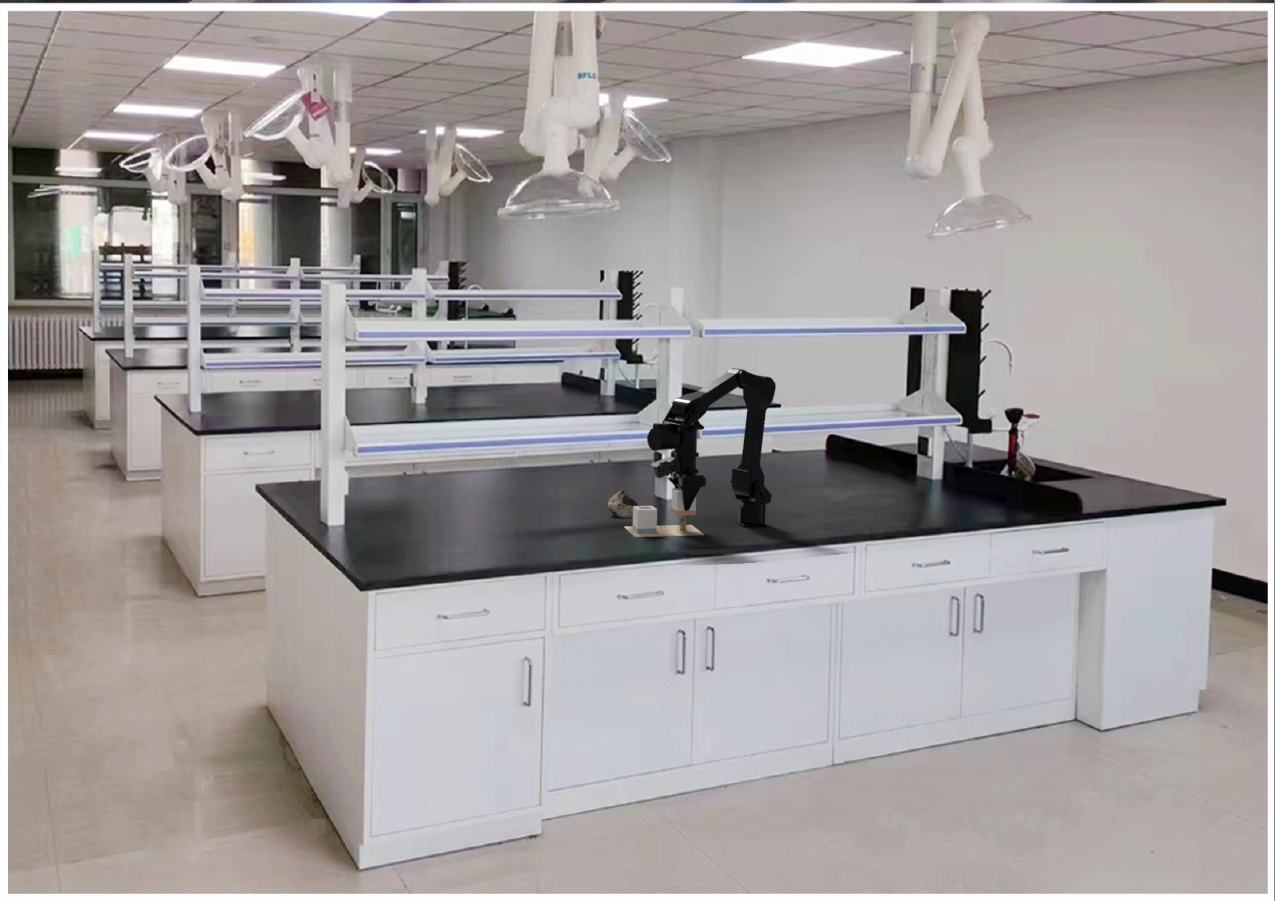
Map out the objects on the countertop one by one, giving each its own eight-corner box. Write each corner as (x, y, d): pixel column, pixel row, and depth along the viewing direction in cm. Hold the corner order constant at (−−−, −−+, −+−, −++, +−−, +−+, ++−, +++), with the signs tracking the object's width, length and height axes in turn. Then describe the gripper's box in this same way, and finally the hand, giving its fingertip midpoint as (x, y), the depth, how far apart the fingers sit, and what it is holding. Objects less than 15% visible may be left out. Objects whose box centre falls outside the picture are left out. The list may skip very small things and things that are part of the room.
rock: (643, 509, 348) (614, 487, 346) (654, 503, 341) (625, 480, 340) (627, 534, 344) (598, 512, 342) (638, 528, 337) (609, 505, 336)
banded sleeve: (690, 510, 326) (690, 487, 325) (695, 514, 322) (696, 491, 321) (671, 511, 325) (671, 488, 324) (676, 515, 320) (677, 492, 320)
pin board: (691, 529, 331) (691, 513, 330) (704, 539, 319) (704, 523, 319) (623, 531, 327) (624, 515, 326) (634, 541, 315) (634, 525, 315)
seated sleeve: (651, 528, 325) (652, 505, 324) (656, 533, 320) (657, 509, 319) (632, 529, 324) (633, 506, 323) (637, 533, 319) (637, 510, 318)
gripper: (645, 442, 328) (644, 502, 330) (663, 454, 310) (662, 517, 312) (687, 442, 331) (685, 501, 333) (707, 453, 313) (705, 515, 315)
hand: (683, 508), depth 323 cm, fingers closed on banded sleeve, 5 cm apart
